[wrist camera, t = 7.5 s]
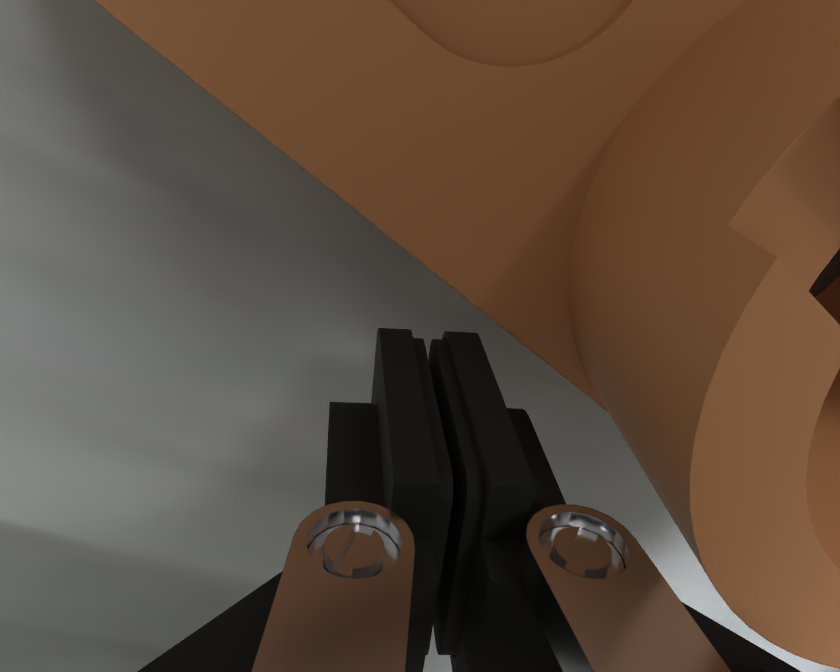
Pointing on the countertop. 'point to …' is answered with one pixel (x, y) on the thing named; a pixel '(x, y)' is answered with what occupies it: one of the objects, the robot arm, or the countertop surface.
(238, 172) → the countertop surface
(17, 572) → the countertop surface
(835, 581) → the bracket
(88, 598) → the countertop surface
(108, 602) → the countertop surface
